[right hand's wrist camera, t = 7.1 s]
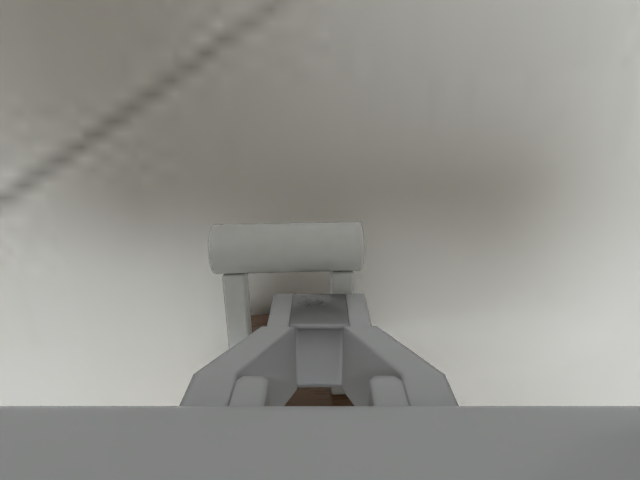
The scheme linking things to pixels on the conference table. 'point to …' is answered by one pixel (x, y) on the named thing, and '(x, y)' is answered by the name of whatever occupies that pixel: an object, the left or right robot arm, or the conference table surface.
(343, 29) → the conference table surface
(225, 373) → the right robot arm
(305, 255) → the drawer
